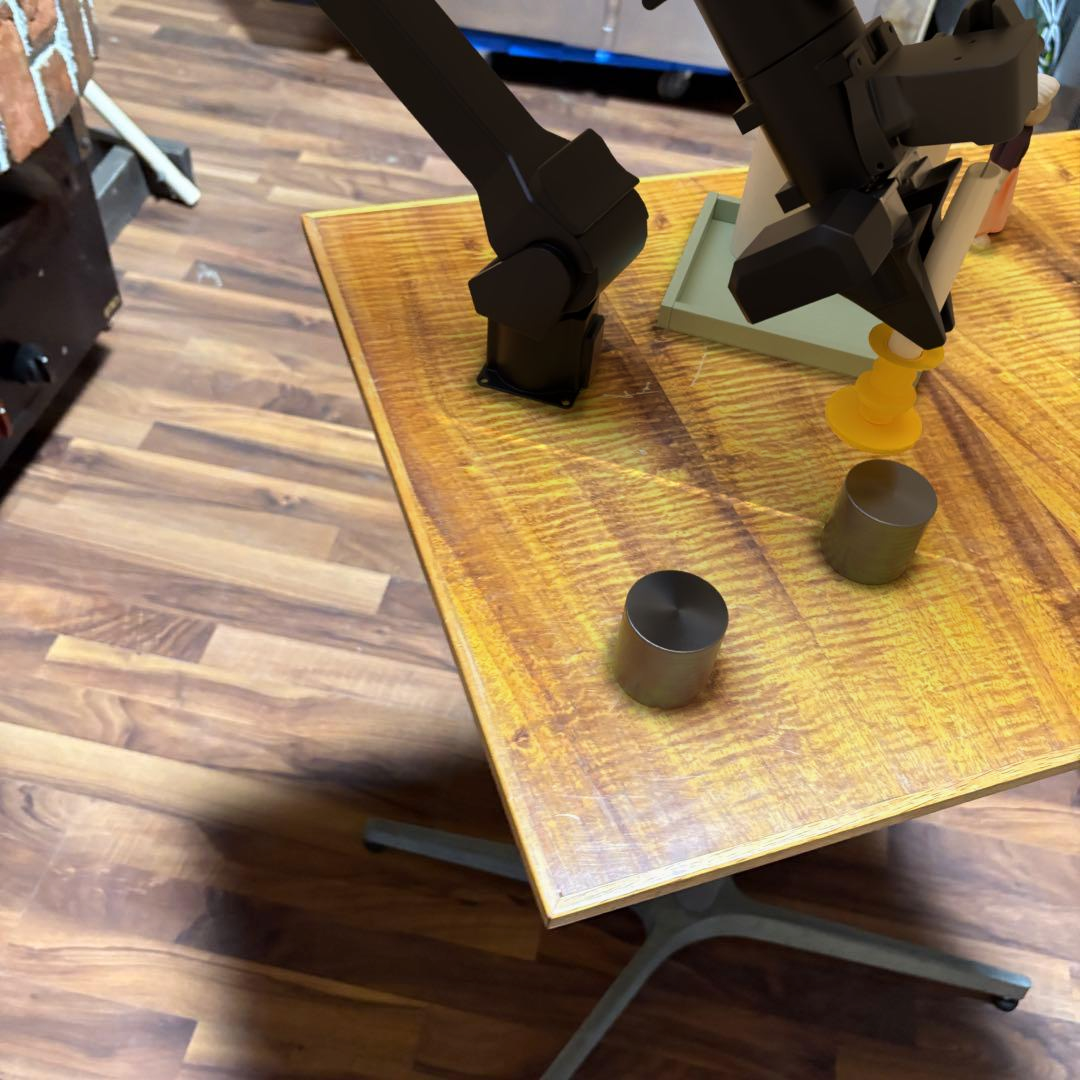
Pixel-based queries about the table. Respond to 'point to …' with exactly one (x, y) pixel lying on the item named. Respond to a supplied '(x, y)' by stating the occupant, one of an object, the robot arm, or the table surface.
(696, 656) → the grey tins
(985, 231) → the grandmother figurine
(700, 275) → the tray
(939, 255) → the candle
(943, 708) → the table surface
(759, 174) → the cream candles
